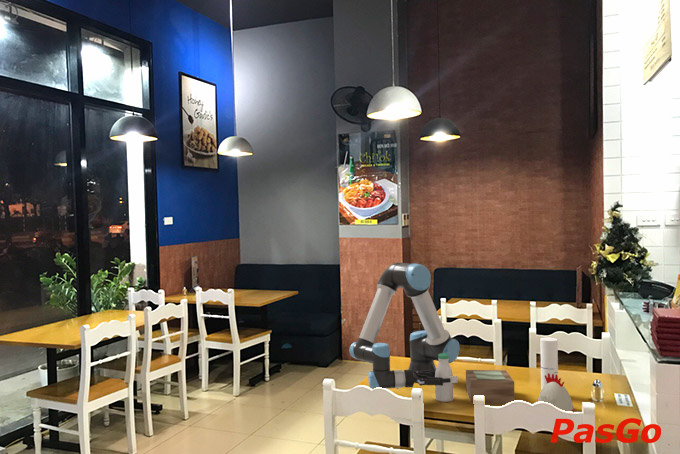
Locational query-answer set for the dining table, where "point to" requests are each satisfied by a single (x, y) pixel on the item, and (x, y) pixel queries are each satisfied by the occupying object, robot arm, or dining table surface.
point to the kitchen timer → (556, 394)
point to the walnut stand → (490, 386)
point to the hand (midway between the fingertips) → (454, 376)
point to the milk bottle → (443, 370)
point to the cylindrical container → (548, 358)
